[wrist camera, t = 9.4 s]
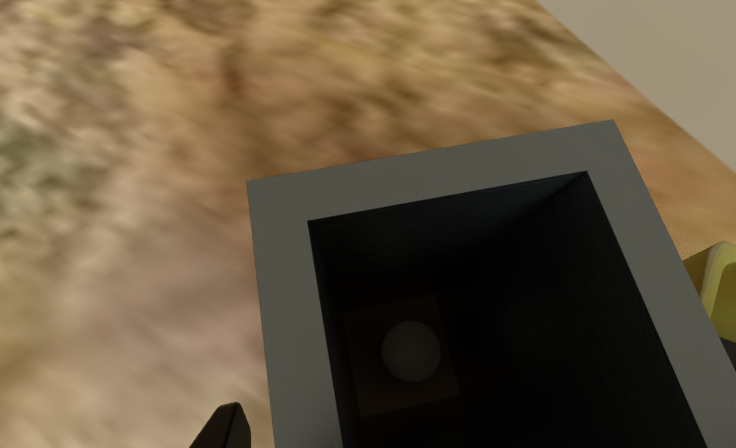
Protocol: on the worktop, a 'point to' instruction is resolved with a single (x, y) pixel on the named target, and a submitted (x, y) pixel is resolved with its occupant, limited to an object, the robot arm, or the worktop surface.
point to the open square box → (491, 299)
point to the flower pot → (716, 285)
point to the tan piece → (399, 355)
